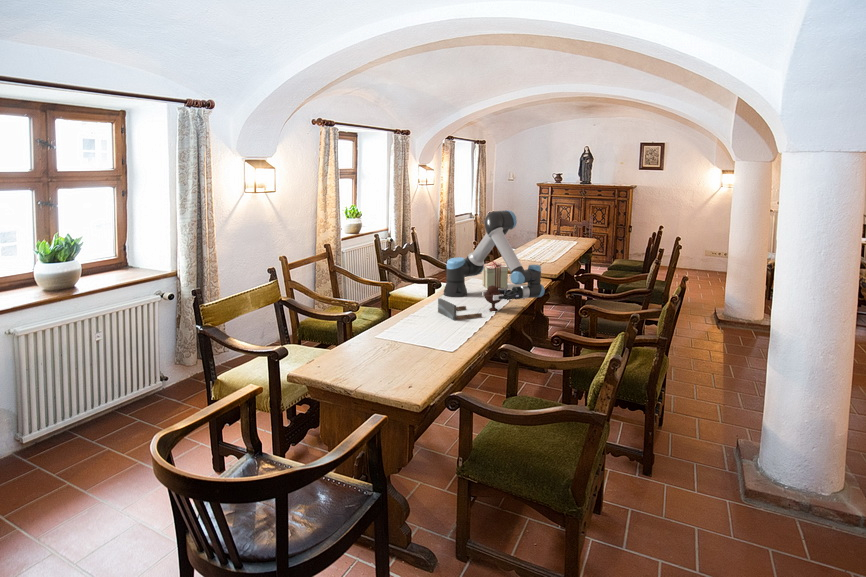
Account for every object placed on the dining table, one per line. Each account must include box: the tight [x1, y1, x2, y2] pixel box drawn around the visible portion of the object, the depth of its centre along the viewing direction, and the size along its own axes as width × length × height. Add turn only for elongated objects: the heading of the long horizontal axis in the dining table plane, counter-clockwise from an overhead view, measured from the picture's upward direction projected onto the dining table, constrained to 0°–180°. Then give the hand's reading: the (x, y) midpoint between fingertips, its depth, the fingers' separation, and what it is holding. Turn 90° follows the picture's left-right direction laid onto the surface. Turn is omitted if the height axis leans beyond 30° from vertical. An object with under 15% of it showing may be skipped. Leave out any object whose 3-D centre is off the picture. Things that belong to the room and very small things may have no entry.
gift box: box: [481, 260, 509, 290], centre depth 407 cm, size 17×18×17 cm
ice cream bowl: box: [483, 285, 503, 312], centre depth 342 cm, size 11×11×15 cm
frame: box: [437, 297, 483, 321], centre depth 333 cm, size 17×19×8 cm
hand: (487, 295), depth 340 cm, fingers closed on ice cream bowl, 11 cm apart
